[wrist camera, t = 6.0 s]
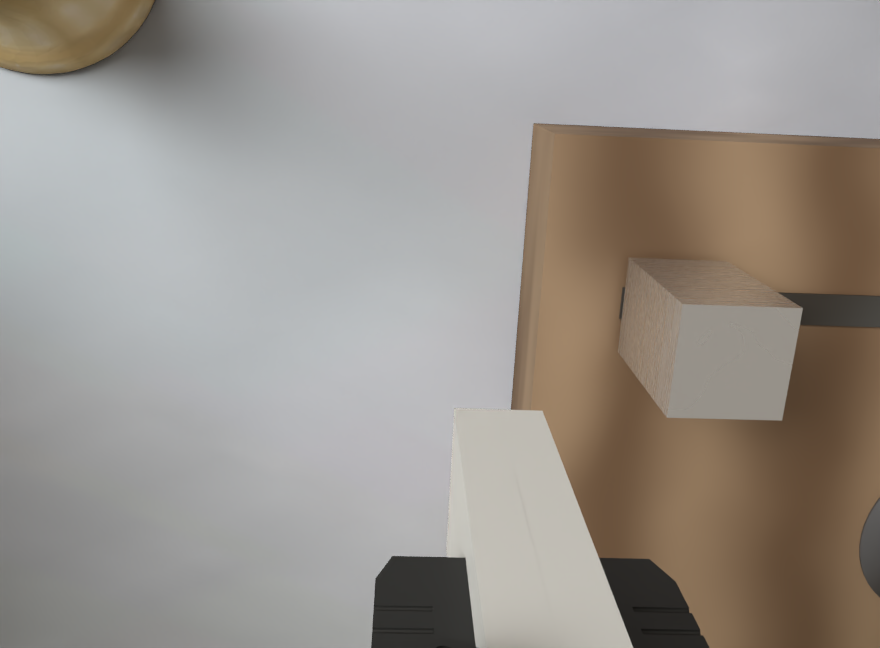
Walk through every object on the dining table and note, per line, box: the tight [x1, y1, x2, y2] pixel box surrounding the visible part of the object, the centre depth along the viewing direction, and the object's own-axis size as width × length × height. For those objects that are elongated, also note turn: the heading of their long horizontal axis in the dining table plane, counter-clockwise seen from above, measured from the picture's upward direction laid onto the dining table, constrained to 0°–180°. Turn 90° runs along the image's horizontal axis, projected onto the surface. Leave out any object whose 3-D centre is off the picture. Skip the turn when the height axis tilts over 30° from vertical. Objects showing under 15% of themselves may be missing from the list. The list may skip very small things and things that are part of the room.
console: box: [511, 123, 880, 648], centre depth 30 cm, size 19×26×4 cm
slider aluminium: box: [618, 257, 803, 421], centre depth 23 cm, size 3×3×5 cm
